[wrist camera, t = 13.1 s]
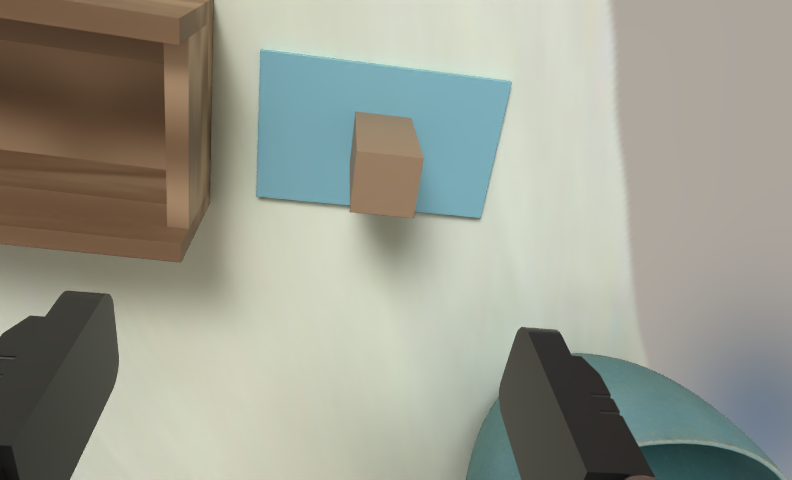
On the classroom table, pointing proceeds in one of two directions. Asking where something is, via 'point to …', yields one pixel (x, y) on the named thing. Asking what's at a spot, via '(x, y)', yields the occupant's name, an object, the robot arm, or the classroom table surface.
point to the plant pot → (648, 431)
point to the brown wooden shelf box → (105, 125)
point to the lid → (376, 135)
